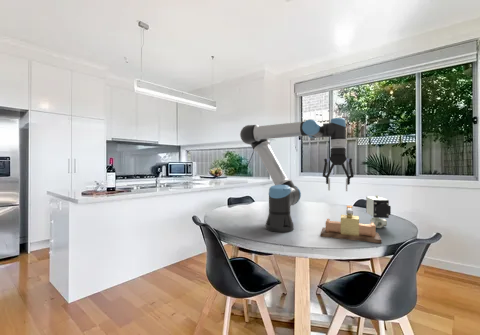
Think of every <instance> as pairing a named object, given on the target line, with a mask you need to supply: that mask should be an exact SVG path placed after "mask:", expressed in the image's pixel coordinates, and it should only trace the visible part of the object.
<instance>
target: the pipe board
mask: <svg viewBox="0 0 480 335" xmlns="http://www.w3.org/2000/svg"><path fill="white" fill-rule="evenodd" d="M322 236H323V238H331V237H332V238H334V239H341V240H348V239H349V240H351V241H357V240H359V241H360V242H366V241H367V242H369V243H376V244H382V241H383V240H382V238H381V236H380V234H379V232H376V236H375V237H372V236H367V235H359V236H352V235H342V234H341V233H338V232H326V227H322V228H321V231H320V237H322ZM367 242H366V243H367Z"/></svg>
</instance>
